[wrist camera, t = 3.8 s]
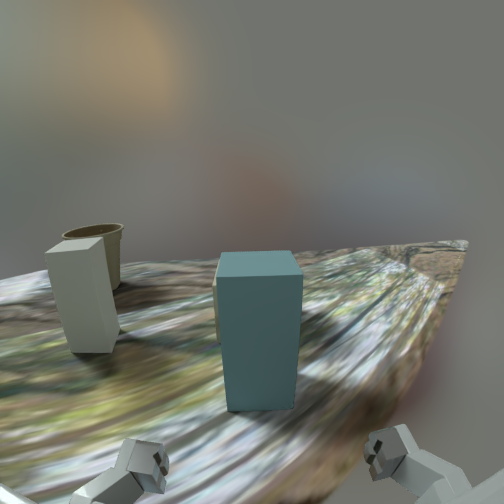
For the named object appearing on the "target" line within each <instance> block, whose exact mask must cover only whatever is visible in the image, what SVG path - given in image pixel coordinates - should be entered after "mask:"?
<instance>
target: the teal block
mask: <svg viewBox="0 0 504 504" xmlns="http://www.w3.org/2000/svg"><path fill="white" fill-rule="evenodd" d="M216 286H217V300H218V314H219V326H220V339H221V350H222V361H223V372H224V382H225V392H226V401H227V410H228V412H229V411H265V410H281V409H293V406H294V397H295V387H296V377H297V366H298V354H299V341H300V327H301V312H302V294H303V273H302V271H301V269H300V267H299V266H298V264H297V262H296V260H295V259H294V257H293V255H292V253H291V252H290V251H256V252H222V254H221V258H220V262H219V266H218V270H217V275H216Z"/></svg>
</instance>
